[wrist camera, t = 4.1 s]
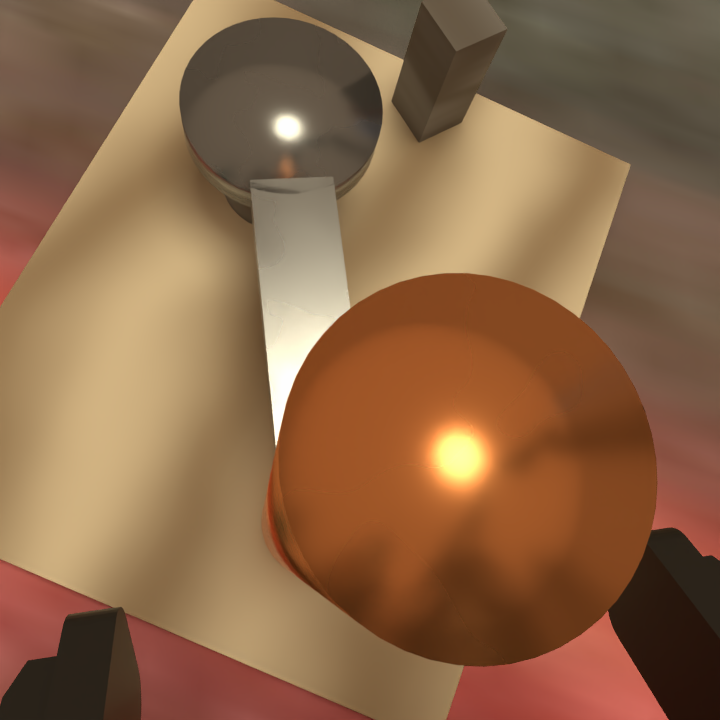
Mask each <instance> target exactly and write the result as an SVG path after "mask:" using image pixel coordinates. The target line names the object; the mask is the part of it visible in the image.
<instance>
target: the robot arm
mask: <svg viewBox="0 0 720 720" xmlns="http://www.w3.org/2000/svg"><path fill="white" fill-rule="evenodd" d="M608 612H609V617H610V620H611V623H612V626H613V628H614V631H615V633H616V634H617V636H618V638H619V639H620V641H621V643H622V644H623V646H624V648H625V649H626V651H627V652H628V654H629V656H630V657H631V659H632V661H633V662H634V664H635V665H636V667H637V669H638V670H639V672H640V674H641V675H642V677H643V678H644V680H645V682H646V683H647V685H648V687H649V688H650V690H651V691H652V693H653V695H654V696H655V698H656V700H657V701H658V703H659V705H660V706H661V708H662V709H663V711H664V713H665V714H666V716H667V718H668V719H669V720H720V561H719V560H718V559H716V558H715V557H713V556H712V555H711V556H704V557H703V556H702V555H701V554H700V553H699V551H698V550H697V549H696V548H695V547H694V546H693V544H692V543H691V542H690V541H689V540H688V538H687V537H686V536H685V535H684V534H683V533H682V532H681V531H679V530H677V529H675V528H664V529H658V530H651V533H650V536H649V539H648V542H647V545H646V548H645V551H644V554H643V557H642V559H641V561H640V563H639V565H638V567H637V569H636V571H635V573H634V575H633V577H632V579H631V581H630V582H629V584H628V585H627V586H626V588H625V589H624V591H623V592H622V594H621V595H620V597H619V598H618V600H617V601H616V602H615V603H614V604H613V605H612V606H611V607H610V609H609V610H608ZM0 720H141V685H140V676H139V670H138V665H137V661H136V657H135V653H134V649H133V645H132V640H131V636H130V632H129V628H128V624H127V620H126V616H125V612H124V609H123V608H122V607H116V608H109V609H102V610H95V611H88V612H82V613H75V614H69V615H68V616H67V617H66V619H65V621H64V624H63V629H62V633H61V638H60V643H59V648H58V653H57V656H55V657H48V658H42V659H36V660H29V661H27V663H26V664H25V666H24V667H23V668H22V670H21V671H20V673H19V674H18V676H17V677H16V679H15V680H14V682H13V683H12V685H11V686H10V687H9V689H8V690H7V692H6V693H5V695H4V696H3V698H2V701H1V705H0Z"/></svg>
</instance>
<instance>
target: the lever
mask: <svg viewBox="0 0 720 720" xmlns="http://www.w3.org/2000/svg"><path fill="white" fill-rule="evenodd" d="M179 106H180V113H181V119H182V125H183V131H184V137H185V141H186V145H187V148H188V151H189V153H190V155H191V158H192V160H193V162H194V163H195V165H196V166H197V168H198V169H199V171H200V172H201V174H202V175H203V176H204V177H205V178H206V179H207V181H208V182H209V183H211V184H212V185H213V186H214V187H215V188H216V189H217V190H218V191H220V192H221V193H223V194H224V195H226V196H227V197H229V198H230V199H232V200H234V201H236V202H238V203H240V204H243V205H245V206H248V207H250V208H251V215H252V225H253V235H254V246H255V256H256V266H257V276H258V287H259V297H260V307H261V318H262V328H263V338H264V348H265V359H266V369H267V379H268V390H269V400H270V410H271V420H272V431H273V441H274V451H275V455H274V459H273V464H272V469H271V473H270V478H269V483H268V487H267V492H266V497H265V501H264V506H263V511H262V518H261V525H262V533H263V537H264V541H265V543H266V545H267V548H268V550H269V551H270V553H271V554H272V556H273V557H274V558H275V559H276V561H278V562H279V563H280V564H281V565H282V566H283V567H284V568H286V569H287V570H288V571H290V572H291V573H292V574H294V575H295V576H296V577H298V578H299V579H300V580H302V581H303V582H304V583H306V584H307V585H308V586H310V587H311V588H312V589H314V590H315V591H316V592H318V593H319V594H320V595H322V596H323V597H324V598H326V599H327V600H328V601H330V602H331V603H332V604H334V605H335V606H336V607H338V608H339V609H340V610H342V611H343V612H344V613H346V614H347V615H348V616H350V617H351V618H352V619H354V620H355V621H356V622H358V623H359V624H360V625H362V626H363V627H365V628H366V629H368V630H369V631H370V632H372V633H373V634H375V635H376V636H377V637H379V638H381V639H382V640H384V641H386V642H388V643H390V644H392V645H394V646H396V647H398V648H400V649H402V650H404V651H406V652H409V653H412V654H415V655H418V656H420V657H423V658H426V659H429V660H433V661H438V662H443V663H448V664H453V665H463V666H483V667H484V666H494V665H505V664H512V663H516V662H520V661H524V660H528V659H532V658H536V657H538V656H540V655H543V654H545V653H548V652H550V651H552V650H555V649H557V648H559V647H561V646H563V645H564V644H566V643H568V642H569V641H571V640H573V639H574V638H576V637H578V636H579V635H581V634H582V633H583V632H585V631H586V630H587V629H588V628H590V627H591V626H592V625H593V624H594V623H596V622H597V621H598V620H599V619H600V618H601V617H602V616H603V615H604V614H605V613H606V612H607V611H608V610H609V609H610V607H611V606H612V605H613V604H614V603H615V602H616V601H617V600H618V598H619V597H620V595H621V594H622V592H623V591H624V589H625V588H626V586H627V585H628V584H629V582H630V581H631V579H632V577H633V575H634V573H635V571H636V569H637V567H638V565H639V563H640V561H641V559H642V557H643V554H644V551H645V548H646V545H647V542H648V539H649V536H650V533H651V529H652V524H653V519H654V514H655V509H656V495H657V468H656V456H655V450H654V444H653V438H652V433H651V430H650V427H649V423H648V420H647V416H646V413H645V410H644V408H643V405H642V403H641V401H640V398H639V396H638V394H637V391H636V389H635V387H634V385H633V384H632V382H631V380H630V378H629V376H628V375H627V373H626V371H625V369H624V368H623V366H622V365H621V363H620V362H619V361H618V359H617V358H616V357H615V355H614V354H613V352H612V351H611V350H610V348H609V347H608V346H607V345H606V344H605V343H604V342H603V341H602V339H601V338H600V337H599V336H598V335H597V334H596V333H595V332H594V331H593V330H592V329H591V328H590V327H589V326H588V325H587V324H585V323H584V322H583V321H582V320H581V319H580V318H578V317H577V316H576V315H575V314H574V313H572V312H571V311H569V310H568V309H566V308H565V307H563V306H562V305H560V304H559V303H558V302H556V301H554V300H553V299H551V298H549V297H547V296H545V295H543V294H541V293H539V292H537V291H535V290H533V289H531V288H528V287H525V286H523V285H520V284H518V283H515V282H512V281H508V280H504V279H500V278H496V277H492V276H486V275H478V274H470V273H442V274H434V275H427V276H420V277H417V278H413V279H409V280H405V281H402V282H398V283H396V284H393V285H391V286H389V287H386V288H384V289H381V290H379V291H377V292H375V293H374V294H372V295H370V296H368V297H367V298H365V299H363V300H361V301H360V302H358V303H357V304H355V305H354V306H353V307H352V308H350V301H349V293H348V286H347V278H346V270H345V263H344V255H343V248H342V240H341V232H340V225H339V217H338V209H337V202H336V200H338V199H340V198H341V197H343V196H344V195H345V194H347V193H348V192H349V191H350V190H351V189H353V188H354V187H355V186H356V185H357V184H358V182H359V181H360V180H361V178H362V177H363V176H364V174H365V173H366V171H367V169H368V167H369V165H370V163H371V160H372V158H373V155H374V151H375V148H376V145H377V142H378V138H379V135H380V131H381V126H382V119H383V106H382V98H381V94H380V89H379V87H378V84H377V81H376V79H375V77H374V75H373V73H372V71H371V69H370V68H369V66H368V65H367V64H366V62H365V61H364V59H363V58H362V57H361V56H360V55H359V54H358V53H357V52H356V50H355V49H353V48H352V47H351V46H350V45H349V44H348V43H346V42H345V41H344V40H342V39H341V38H339V37H338V36H336V35H335V34H333V33H331V32H329V31H328V30H326V29H324V28H321V27H319V26H316V25H314V24H311V23H308V22H304V21H300V20H295V19H289V18H277V17H270V18H258V19H252V20H247V21H243V22H240V23H236V24H234V25H232V26H229V27H227V28H225V29H223V30H221V31H220V32H218V33H216V34H215V35H213V36H212V37H211V38H209V39H208V40H207V41H206V42H204V44H203V45H202V46H201V47H200V48H199V49H198V50H197V51H196V52H195V54H194V55H193V56H192V58H191V59H190V61H189V63H188V65H187V67H186V69H185V71H184V74H183V77H182V80H181V85H180V91H179Z"/></svg>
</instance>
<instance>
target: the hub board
mask: <svg viewBox="0 0 720 720" xmlns="http://www.w3.org/2000/svg"><path fill="white" fill-rule="evenodd" d="M270 17H277V18H289V19H295V20H300V21H304V22H308V23H311V24H314V25H316V26H319V27H321V28H324V29H326V30H328V31H329V32H331V33H333V34H335V35H336V36H338V37H339V38H341V39H342V40H344V41H345V42H346V43H348V44H349V45H350V46H351V47H352V48H353V49H355V50H356V52H357V53H358V54H359V55H360V56H361V57H362V58H363V59H364V61H365V62H366V64H367V65H368V66H369V68H370V69H371V71H372V73H373V75H374V77H375V79H376V81H377V84H378V87H379V89H380V94H381V98H382V106H383V119H382V126H381V131H380V135H379V138H378V142H377V145H376V148H375V151H374V155H373V158H372V160H371V163H370V165H369V167H368V169H367V171H366V173H365V174H364V176H363V177H362V178H361V180H360V181H359V182H358V184H357V185H356V186H355V187H354V188H353V189H351V190H350V191H349V192H348V193H347V194H345V195H344V196H343V197H341V198H340V199H338V200H336V202H337V209H338V217H339V225H340V232H341V240H342V248H343V255H344V263H345V270H346V278H347V286H348V293H349V301H350V308H352V307H353V306H354V305H355V304H357V303H358V302H360V301H361V300H363V299H365V298H367V297H368V296H370V295H372V294H374V293H375V292H377V291H379V290H381V289H384V288H386V287H389V286H391V285H393V284H396V283H398V282H402V281H405V280H409V279H413V278H417V277H420V276H427V275H434V274H442V273H470V274H478V275H486V276H492V277H496V278H500V279H504V280H508V281H512V282H515V283H518V284H520V285H523V286H525V287H528V288H531V289H533V290H535V291H537V292H539V293H541V294H543V295H545V296H547V297H549V298H551V299H553V300H554V301H556V302H558V303H559V304H560V305H562V306H563V307H565V308H566V309H568V310H569V311H571V312H572V313H574V314H575V315H576V316H577V317H578V318H580V316H581V313H582V310H583V307H584V303H585V300H586V297H587V294H588V291H589V288H590V285H591V282H592V279H593V276H594V273H595V270H596V267H597V264H598V261H599V258H600V255H601V252H602V249H603V246H604V243H605V240H606V237H607V234H608V231H609V228H610V225H611V222H612V219H613V216H614V213H615V210H616V207H617V204H618V201H619V198H620V195H621V192H622V189H623V186H624V183H625V180H626V177H627V174H628V171H629V168H630V164H628V163H626V162H624V161H621V160H619V159H617V158H615V157H613V156H611V155H608V154H606V153H604V152H602V151H600V150H598V149H595V148H593V147H591V146H589V145H587V144H585V143H582V142H580V141H578V140H576V139H574V138H572V137H569V136H567V135H565V134H563V133H561V132H559V131H556V130H554V129H552V128H550V127H548V126H545V125H543V124H541V123H539V122H537V121H535V120H532V119H530V118H528V117H526V116H524V115H522V114H519V113H517V112H515V111H513V110H511V109H509V108H506V107H504V106H502V105H500V104H498V103H496V102H493V101H491V100H489V99H487V98H485V97H483V96H480V95H478V94H476V92H477V90H478V88H479V86H480V84H481V82H482V80H483V78H484V76H485V74H486V72H487V70H488V68H489V66H490V64H491V62H492V60H493V58H494V55H495V53H496V51H497V49H498V47H499V45H500V43H501V41H502V39H503V37H504V35H505V33H506V31H507V28H506V26H505V25H504V23H503V22H502V21H501V19H500V18H499V16H498V15H497V14H496V12H495V11H494V9H493V8H492V7H491V5H490V4H489V2H488V1H487V0H425V1H422V3H421V6H420V9H419V13H418V16H417V19H416V22H415V26H414V29H413V32H412V35H411V39H410V42H409V45H408V48H407V52H406V55H405V58H404V60H402V59H400V58H398V57H396V56H394V55H391V54H389V53H387V52H385V51H383V50H381V49H378V48H376V47H374V46H372V45H370V44H368V43H365V42H363V41H361V40H359V39H357V38H355V37H352V36H350V35H348V34H346V33H344V32H342V31H339V30H337V29H335V28H333V27H331V26H329V25H326V24H324V23H322V22H320V21H318V20H316V19H313V18H311V17H309V16H307V15H305V14H303V13H300V12H298V11H296V10H294V9H292V8H290V7H287V6H285V5H283V4H281V3H279V2H276V1H274V0H193V2H192V3H191V5H190V6H189V8H188V10H187V11H186V13H185V14H184V16H183V18H182V19H181V21H180V22H179V24H178V25H177V27H176V29H175V30H174V32H173V33H172V35H171V37H170V38H169V40H168V41H167V43H166V45H165V46H164V48H163V49H162V51H161V52H160V54H159V56H158V57H157V59H156V60H155V62H154V64H153V65H152V67H151V68H150V70H149V72H148V73H147V75H146V76H145V78H144V79H143V81H142V83H141V84H140V86H139V87H138V89H137V91H136V92H135V94H134V95H133V97H132V99H131V100H130V102H129V103H128V105H127V106H126V108H125V110H124V111H123V113H122V114H121V116H120V118H119V119H118V121H117V122H116V124H115V126H114V127H113V129H112V130H111V132H110V133H109V135H108V137H107V138H106V140H105V141H104V143H103V145H102V146H101V148H100V149H99V151H98V153H97V154H96V156H95V157H94V159H93V160H92V162H91V164H90V165H89V167H88V168H87V170H86V172H85V173H84V175H83V176H82V178H81V179H80V181H79V183H78V184H77V186H76V187H75V189H74V191H73V192H72V194H71V195H70V197H69V199H68V200H67V202H66V203H65V205H64V206H63V208H62V210H61V211H60V213H59V214H58V216H57V218H56V219H55V221H54V222H53V224H52V226H51V227H50V229H49V230H48V232H47V233H46V235H45V237H44V238H43V240H42V241H41V243H40V245H39V246H38V248H37V249H36V251H35V253H34V254H33V256H32V257H31V259H30V260H29V262H28V264H27V265H26V267H25V268H24V270H23V272H22V273H21V275H20V276H19V278H18V280H17V281H16V283H15V284H14V286H13V287H12V289H11V291H10V292H9V294H8V295H7V297H6V299H5V300H4V302H3V303H2V305H1V307H0V559H1V560H4V561H6V562H8V563H11V564H13V565H15V566H18V567H20V568H22V569H25V570H27V571H29V572H32V573H34V574H36V575H39V576H41V577H43V578H46V579H48V580H50V581H53V582H55V583H57V584H60V585H62V586H64V587H67V588H69V589H71V590H74V591H76V592H78V593H81V594H83V595H85V596H88V597H90V598H92V599H95V600H97V601H99V602H102V603H104V604H106V605H109V606H111V607H113V608H116V607H122V608H123V609H124V612H125V613H127V614H130V615H132V616H134V617H137V618H139V619H141V620H144V621H146V622H148V623H151V624H153V625H155V626H158V627H160V628H162V629H165V630H167V631H169V632H172V633H174V634H176V635H179V636H181V637H183V638H186V639H188V640H190V641H193V642H195V643H197V644H200V645H202V646H204V647H207V648H209V649H211V650H214V651H216V652H218V653H221V654H223V655H225V656H228V657H230V658H232V659H235V660H237V661H239V662H242V663H244V664H246V665H249V666H251V667H253V668H256V669H258V670H260V671H263V672H265V673H267V674H270V675H272V676H274V677H277V678H279V679H281V680H284V681H286V682H288V683H291V684H293V685H295V686H298V687H300V688H302V689H305V690H307V691H309V692H312V693H314V694H316V695H319V696H321V697H323V698H326V699H328V700H330V701H333V702H335V703H337V704H340V705H342V706H344V707H347V708H349V709H351V710H354V711H356V712H358V713H361V714H363V715H365V716H368V717H370V718H372V719H375V720H446V719H447V716H448V713H449V710H450V707H451V704H452V701H453V698H454V695H455V692H456V689H457V686H458V683H459V680H460V677H461V674H462V671H463V668H464V666H463V665H453V664H448V663H443V662H438V661H433V660H429V659H426V658H423V657H420V656H418V655H415V654H412V653H409V652H406V651H404V650H402V649H400V648H398V647H396V646H394V645H392V644H390V643H388V642H386V641H384V640H382V639H381V638H379V637H377V636H376V635H375V634H373V633H372V632H370V631H369V630H368V629H366V628H365V627H363V626H362V625H360V624H359V623H358V622H356V621H355V620H354V619H352V618H351V617H350V616H348V615H347V614H346V613H344V612H343V611H342V610H340V609H339V608H338V607H336V606H335V605H334V604H332V603H331V602H330V601H328V600H327V599H326V598H324V597H323V596H322V595H320V594H319V593H318V592H316V591H315V590H314V589H312V588H311V587H310V586H308V585H307V584H306V583H304V582H303V581H302V580H300V579H299V578H298V577H296V576H295V575H294V574H292V573H291V572H290V571H288V570H287V569H286V568H284V567H283V566H282V565H281V564H280V563H279V562H278V561H276V559H275V558H274V557H273V556H272V554H271V553H270V551H269V550H268V548H267V545H266V543H265V541H264V537H263V533H262V525H261V518H262V511H263V506H264V501H265V497H266V492H267V487H268V483H269V478H270V473H271V469H272V464H273V459H274V455H275V451H274V441H273V431H272V420H271V410H270V400H269V390H268V379H267V369H266V359H265V348H264V338H263V328H262V318H261V307H260V297H259V287H258V276H257V266H256V256H255V246H254V235H253V225H252V215H251V208H250V207H248V206H245V205H243V204H240V203H238V202H236V201H234V200H232V199H230V198H229V197H227V196H226V195H224V194H223V193H221V192H220V191H218V190H217V189H216V188H215V187H214V186H213V185H212V184H211V183H209V182H208V181H207V179H206V178H205V177H204V176H203V175H202V174H201V172H200V171H199V169H198V168H197V166H196V165H195V163H194V162H193V160H192V158H191V155H190V153H189V151H188V148H187V145H186V141H185V137H184V131H183V125H182V119H181V113H180V106H179V91H180V85H181V80H182V77H183V74H184V71H185V69H186V67H187V65H188V63H189V61H190V59H191V58H192V56H193V55H194V54H195V52H196V51H197V50H198V49H199V48H200V47H201V46H202V45H203V44H204V42H206V41H207V40H208V39H209V38H211V37H212V36H213V35H215V34H216V33H218V32H220V31H221V30H223V29H225V28H227V27H229V26H232V25H234V24H236V23H240V22H243V21H247V20H252V19H258V18H270Z"/></svg>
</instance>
